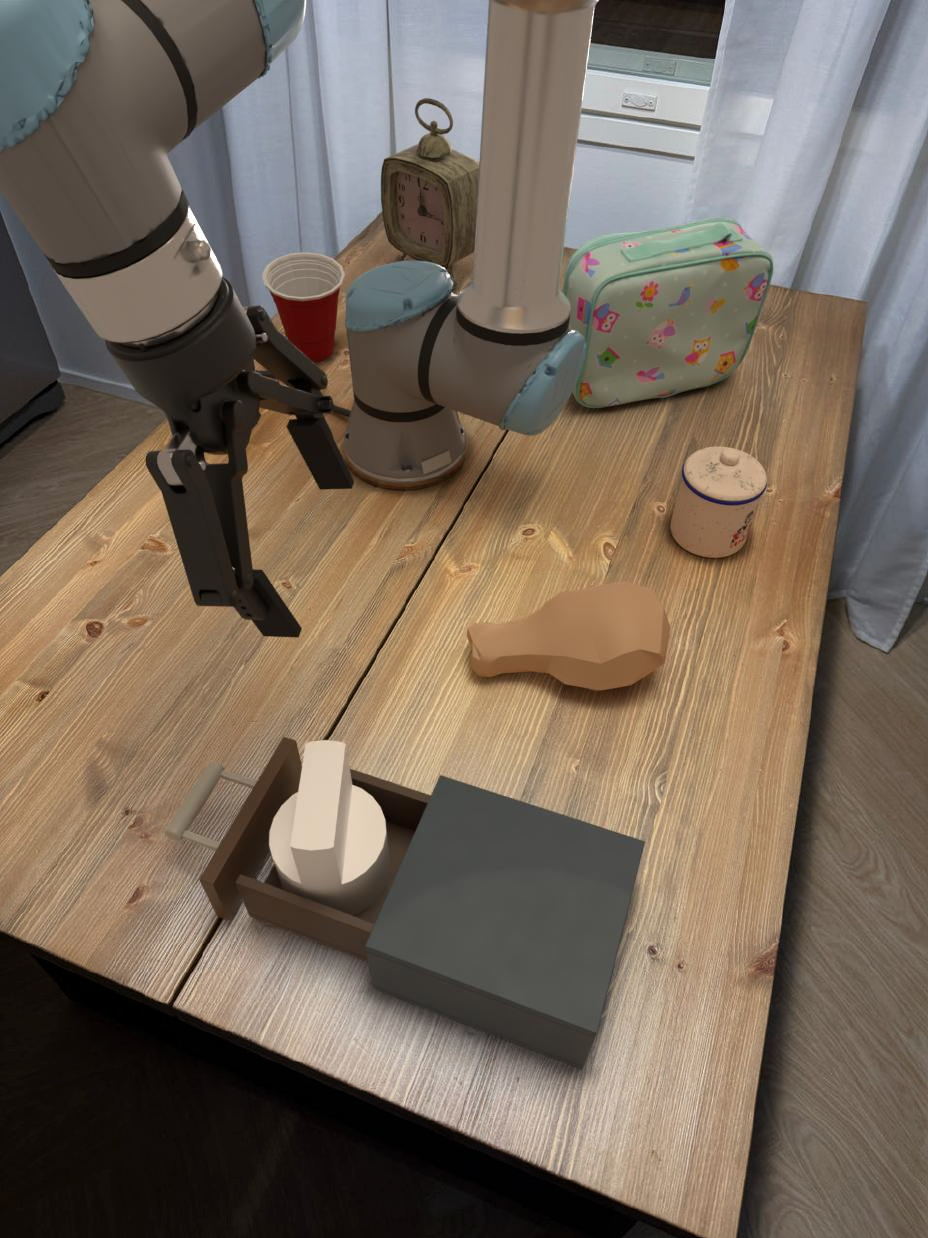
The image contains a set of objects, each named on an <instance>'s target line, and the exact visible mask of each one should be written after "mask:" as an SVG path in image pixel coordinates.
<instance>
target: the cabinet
mask: <svg viewBox="0 0 928 1238" xmlns="http://www.w3.org/2000/svg"><path fill="white" fill-rule="evenodd" d="M430 795H431V797H430V799H429V801H428V804H427V806H426V808H425V811H424V813H423V815H422V817H421V820H420V822H419V824H418V826H417V829H416V831H415V833H414V835H413V838H412V840H411V842H410V845H409V847H408V849H407V851H406V854H405V856H404V858H403V860H402V863H401V865H400V867H399V870H398V872H397V874H396V876H395V879H394V881H393V883H392V885H391V888H390V890H389V892H388V895H387V897H386V899H385V901H384V904H383V906H382V908H381V910H380V913H379V915H378V917H377V919H376V922H375V924H374V926H373V929H372V931H371V933H370V935H369V938H368V940H367V942H366V944H365V949H366V955H367V960H368V962H367V964H368V970H369V974H370V980H371V985H372V989H373V990H376V991H378V992H380V993H383V994H385V995H388V996H391V997H393V998H396V999H398V1000H400V1001H404V1002H406V1003H409V1004H412V1005H414V1006H417V1007H419V1008H422V1009H424V1010H427V1011H429V1012H431V1013H434V1014H438V1015H439V1016H443V1017H445V1018H448V1019H449V1020H452V1021H455V1022H458V1023H460V1024H463V1025H466V1026H469V1027H471V1028H473V1029H476V1030H478V1031H481V1032H484V1033H487V1034H489V1035H491V1036H494V1037H497V1038H499V1039H502V1040H505V1041H507V1042H510V1043H512V1044H515V1045H517V1046H519V1047H522V1048H525V1049H528V1050H530V1051H533V1052H536V1053H538V1054H539V1055H540V1054H541V1055H542V1056H546V1057H548V1058H551V1059H553V1060H556V1061H559V1062H561V1063H564V1064H567V1065H569V1066H572V1067H574V1068H577V1069H579V1070H583V1069H584V1067H585V1064H586V1062H587V1060H588V1057H589V1055H590V1052H591V1050H592V1048H593V1044H594V1042H595V1039H596V1037H597V1035H598V1032H599V1028H600V1024H601V1019H602V1016H603V1011H604V1007H605V1003H606V1000H607V996H608V991H609V988H610V984H611V980H612V975H613V973H614V968H615V965H616V960H617V956H618V951H619V948H620V945H621V944H620V943H621V941H622V936H623V932H624V928H625V924H626V920H627V916H628V912H629V909H630V904H631V900H632V896H633V893H634V888H635V884H636V880H637V875H638V872H639V869H640V864H641V861H642V856H643V853H644V848H645V844H646V840H642V839H639V838H636V837H634V836H630V835H628V834H627V835H626V834H624V833H621V832H617V831H614V830H611V829H608V828H605V827H602V826H600V825H599V826H598V825H596V824H593V823H591V822H587V821H584V820H580V819H577V818H574V817H571V816H569V815H565V814H562V813H559V812H555V811H554V810H550V809H547V808H543V807H540V806H537V805H535V804H531V803H529V802H525V801H522V800H519V799H517V798H516V799H515V798H513V797H510V796H507V795H504V794H500V793H497V792H495V791H491V790H488V789H484V788H482V787H479V786H476V785H473V784H469V783H466V782H463V781H460V780H458V779H454V778H451V777H448V776H445V775H442V774H440V775H439V776H438V779H437V781H436V783H435V786H434V788H433V790H432V792H431V794H430Z"/></svg>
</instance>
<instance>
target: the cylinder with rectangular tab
mask: <svg viewBox="0 0 928 1238" xmlns="http://www.w3.org/2000/svg"><path fill="white" fill-rule="evenodd" d="M303 751H304V752H303V759H302V771H301V778H300V784H299V791H298V792H297V793H295V794H294V795H292V796H291V797H290V798H289V799H288V800H287V801H286V802H285V803H284V804H283V805H282V806H281V807H280V809H279V811H278V812H277V814H276V815H275V817H274V819H273V822H272V825H271V829H270V835H269V846H270V850H269V851H270V854H271V856H272V857H271V858H272V860H273V863H274V864H275V866H276V869H277V872H278V875H279V878H280V881H281V884H282V887H283V890H285V891H288V892H291V893H293V894H296V895H299V896H301V897H304V898H307V899H310V900H312V901H315V902H318V903H320V904H323V905H326V906H328V907H331V908H334V909H337V910H339V911H342V912H345V913H347V914H350V915H356V914H359V913H360V912H362V911H363V910H365V909H366V908H368V907H369V906H370V905H372V904H373V902H374V901H375V900H376V899H377V898H378V897H379V896H380V895H381V893H382V891H383V889H384V887H385V885H386V883H387V881H388V876H389V872H390V856H389V847H388V839H387V830H386V822H385V818H384V815H383V812H382V810H381V807H380V806H379V804H378V803H377V802H376V801H375V799H374V798H373V797H372V796H371V795H370V794H368V793H367V792H366V791H364V790H363V789H362V788H359V787H357V786H354V785H352V779H351V773H350V769H351V768H350V762H349V756H348V751H347V744H346V743H345V742H343V741H338V740H337V741H336V740H335V741H334V740H328V739H323V740H313V741H308V742H305V745H304V750H303Z"/></svg>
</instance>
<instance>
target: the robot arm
mask: <svg viewBox="0 0 928 1238" xmlns="http://www.w3.org/2000/svg"><path fill="white" fill-rule="evenodd" d="M598 2H600V0H488V5H487V25H486V40H485V57H484V58H485V59H484V73H483V74H484V76H483V92H482V93H483V94H482V95H483V96H482V111H481V128H480V146H479V147H480V148H479V180H478V197H477V215H476V233H475V250H474V252H473V253H474V254H473V268H472V281H471V282H469V283H468V284H467V285H466V286H464V287H463V288H462V289H461V290H460V291H459V293H458V294H456V293H453V289H454V288H453V282H452V280H451V276H450V275H449V271H448V270H447V269H446V267H442V266H440V265H437V264H435V263H431V262H426V261H417V260H406V261H400V262H396V261H394V262H390V263H385V264H382V265H378V266H376V267H373V268H371V269H369V270H367V271H365V272H363V273H362V274H359V276H357V277H356V278H355V279H354V280H353V281H352V282H351V283H350V284H349V286H348V289H347V290H346V293H345V297H344V298H345V299H344V302H345V304H344V305H345V319H344V327H345V331H346V332H345V333H346V339H347V347H348V358H349V366H350V374H351V385H352V393H353V402H352V406H351V410H350V409H348V408H345V407H341V406H338V405H336V404H334V400H333V398H332V396H331V395H324V394H323V393H322V390H323V391H324V390H326V389H327V388H328V384H329V383H328V382H329V380H328V376H327V374H326V372H325V371H323V369H321V368H320V366H318V365H317V364H316V363H314V362H312V361H311V360H310V359H309V358H308V357H307V356H306V355H305V354H303V353H302V352H301V351H300V350H299V349H298V348H297V347H296V346H295V345H294V344H292V343H291V342H290V341H289V340H288V337H287V336H286V335H284V334H282V332H281V331H280V330H278V329H277V327H276V326H275V324H274V322H273V321H272V319H271V318H270V316H269V314H268V312H267V311H266V309H265V308H264V306H263V305H259V304H258V305H250V306H242V305H243V304H242V303H241V301H240V298H238V295H237V293H236V291H235V289H234V288H233V285H232V283H230V281H229V280H228V279H227V278H226V277H224V276H223V269H222V266H221V264H220V262H219V260H218V258H217V256H216V254H215V253H214V251H213V249H212V246H211V245H210V243H209V241H208V240H207V239H208V238H206V236H205V234H204V232H203V230H202V227H201V226H200V224H199V223H198V220H197V219H196V217H195V215H194V213H193V211H192V209H191V207H190V201H189V200H188V198H187V195H186V193H185V192H184V190H183V188H182V186H181V183H180V181H179V178H178V177H177V175H176V172H175V169H174V168H173V165H172V163H171V161H170V159H169V157H168V154H169V153H170V152H172V150H174V149H175V148H176V147H177V146H179V144H181V143H182V142H183V141H184V140H186V139H187V138H188V137H190V135H191V134H192V132H193V131H194V130H196V129H197V128H198V127H199V126H201V125H202V124H203V123H204V122H206V121H207V120H208V119H209V118H210V117H212V116H213V115H215V114H216V113H217V112H218V111H219V110H220V109H222V108H223V107H224V106H225V105H227V104H228V103H230V101H232V100H233V99H234V98H236V97H237V96H238V95H239V94H240V93H242V92H243V91H244V90H245V89H247V87H249V86H250V85H252V84H253V83H254V82H256V80H260V79H261V78H263V77H264V76H266V75H267V73H268V72H269V71H270V70H271V69H270V68H271V64H272V63H273V62H274V61H275V60H276V59H277V58H278V57H279V56H281V54H282V53H283V52H284V51H286V49H287V48H288V47H290V46H291V44H293V42H294V41H295V40H296V39H297V37H298V35H299V33H300V32H301V30H302V28H303V25H304V21H305V16H306V7H307V0H0V193H1V194H2V196H3V197H4V199H5V200H6V201H7V204H9V206H10V207H11V209H12V210H13V211H14V213H15V214H16V216H17V217H18V219H19V221H20V222H21V223H22V224H23V226H24V228H25V229H26V230H27V232H28V233H29V235H30V236H31V238H32V239H33V240H34V243H36V245H37V247H38V248H39V249H40V251H42V252H43V254H44V257H45V258H46V260H47V261H48V263H49V264H50V265H51V268H52V269H53V271H54V273H55V274H56V276H57V277H58V279H59V280H60V281H61V283H62V285H63V286H64V288H65V289H66V290H67V292H68V293H69V295H70V296H71V298H72V300H73V301H74V302H75V304H76V305H77V307H78V309H79V311H80V312H81V313H82V315H83V317H84V318H85V319H86V321H87V322H88V323H89V325H90V326H91V328H92V329H93V330H94V332H95V333H96V334H97V336H98V337H99V338H101V339H103V340H104V341H105V346H106V350H108V352H109V354H110V355H111V357H112V358H113V359H114V361H115V363H116V364H117V365H118V367H119V368H120V369H121V371H122V373H123V374H124V375H125V377H126V378H127V380H128V382H129V383H130V384H131V386H132V387H133V388H134V390H135V392H136V393H137V394H138V395H139V396H140V397H142V398H143V399H144V400H146V401H147V402H149V403H151V404H152V405H154V406H156V407H157V408H158V409H159V410H161V411H162V412H163V413H164V415H165V417H166V419H167V423H168V426H169V430H170V433H171V436H172V437H171V438H170V440H169V441H168V442H167V444H166V445H165V447H164V449H163V450H150V451H148V452H147V453H146V455H145V461H144V462H145V466H146V469H147V471H148V472H149V474H150V476H151V477H152V479H153V481H154V482H155V484H156V486H157V487H158V489H159V491H160V493H161V495H162V498H163V502H164V505H165V508H166V512H167V515H168V519H169V522H170V526H171V529H172V532H173V535H174V539H175V542H176V545H177V549H178V553H179V555H180V558H181V562H182V565H183V569H184V572H185V576H186V579H187V583H188V585H189V588H190V593H191V594H192V598H193V601H194V604H195V606H197V607H214V608H215V607H220V608H233V609H235V611H236V613H238V615H239V616H240V618H241V619H243V620H246V621H251V622H252V623H253V624H254V626H255V627H256V629H257V630H258V631H259V632H260V634H261V636H263V637H266V638H267V637H270V638H274V637H275V638H296V639H297V638H298V639H299V638H300V635H301V633H302V629H303V627H302V626H301V625H300V624H299V622H298V620H297V619H296V617H295V616H294V614H293V613H292V612H291V611H292V610H290V609H289V607H288V605H287V604H286V603H285V600H283V598H282V597H281V595H280V594H279V592H278V591H277V589H276V588H275V586H274V585H273V584H272V582H271V581H270V579H269V578H268V576H267V575H266V573H265V571H264V570H263V569H261V568H259V569H258V568H257V569H255V568H253V561H252V553H251V551H252V550H251V543H250V542H251V541H250V533H249V527H248V518H247V508H246V500H245V491H244V484H243V483H244V482H243V478H244V476H245V475H246V474H247V473H248V471H249V463H248V455H247V447H248V445H249V443H250V440H251V436H252V432H253V430H254V429H255V428H256V426H257V425H258V424H259V421H260V420H261V418H262V414H261V412H260V409H262V410H263V409H264V410H267V411H271V412H276V413H279V414H284V415H287V416H295V418H291V419H289V420H288V422H287V424H286V430H287V431H288V433H289V435H290V436H291V439H292V440H293V442H294V443H295V446H296V449H297V450H298V452H299V454H300V455H301V458H302V460H303V461H304V463H305V465H306V467H307V468H308V470H309V472H310V475H311V476H312V479H314V481H315V483H316V485H317V487H318V489H319V490H321V491H322V490H352V489H353V487H354V484H355V480H354V477H353V476H352V474H351V472H353V474H355V475H356V476H357V477H358V478H359V479H361V480H362V481H364V482H367V483H369V484H371V485H375V486H376V487H380V488H384V489H391V490H401V491H402V490H405V491H406V490H415V489H416V490H417V489H422V488H427V487H431V486H434V485H436V484H437V485H438V484H439V483H441V482H443V481H445V480H447V479H449V477H452V476H453V475H454V474H455V473H456V472H457V471H458V470H459V469H460V467H461V466H462V465H463V463H464V461H465V458H466V455H467V435H466V431H465V428H464V425H463V423H462V421H461V420H460V416H459V413H460V414H464V415H466V416H469V417H472V418H474V419H477V420H480V421H483V422H485V423H489V424H491V425H494V426H497V427H498V428H499V430H501V431H506V430H508V431H511V432H514V433H517V434H520V435H524V436H528V437H533V436H537V435H540V434H542V433H543V432H545V431H547V430H548V429H549V428H550V427H551V425H552V424H553V423H554V422H555V421H556V420H557V419H558V417H559V416H560V414H561V413H562V411H563V410H564V408H565V406H566V404H567V403H568V402H569V400H570V397H571V395H572V394H573V393H572V391H573V389H574V387H575V385H576V383H577V380H578V378H579V375H580V372H581V369H582V366H583V363H584V359H585V354H586V343H585V338H584V336H583V335H581V334H580V333H578V331H576V330H571V331H570V330H569V320H570V313H571V304H570V301H569V300H568V298H567V297H566V296H565V295H564V293H563V292H562V291H563V290H561V289H560V280H561V273H562V265H563V256H564V249H565V242H566V233H567V225H568V219H569V218H568V217H569V210H570V201H571V195H572V187H573V180H574V179H573V178H574V171H575V163H576V155H577V148H578V141H579V140H578V139H579V133H580V124H581V117H582V108H583V101H584V93H585V85H586V78H587V77H586V76H587V70H588V69H587V68H588V61H589V53H590V46H591V40H592V39H591V37H592V30H593V24H594V23H593V22H594V15H595V8H596V5H597V4H598ZM255 362H257V363H258V364H259V365H260V366H262V368H264V369H265V370H256V366H255ZM275 378H276V379H275ZM280 382H281V383H280ZM332 413H334V414H337V415H339V416H340V415H341V416H344V417H345V418H348V421H347V425H346V428H345V431H344V435H343V452H344V457H343V455H342V453H341V451H340V449H339V447H338V444H337V442H336V441H335V438H334V434H333V432H332V430H331V429H332V428H330V426H329V423H328V421H327V419H326V417H325V415H326V414H332ZM324 414H325V415H324ZM205 454H208V455H213V456H227V458H228V461H227V462H223V463H221V462H219V463H209V462H207V461H206V458H205V457H206V456H205ZM344 458H345V459H344ZM350 470H351V471H350Z"/></svg>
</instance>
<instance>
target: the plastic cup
mask: <svg viewBox="0 0 928 1238" xmlns="http://www.w3.org/2000/svg"><path fill="white" fill-rule="evenodd" d="M345 277H346V274H345V270H344V268H343V266H342V264H340V263H339V262H338V261H337V260H336V259H334V258H332V257H330V256H327V255H324V254H322V253H318V252H317V253H316V252H307V251H303V252H293V253H288V254H287V253H286V254H285V255H282V256H280V257H277V258H274V259H273V260H272V261H271V262H269V263H268V264H267V265H265V267H264V270H263V272H262V274H261V278H262V280H263V281H262V282H263V284H264V287H265V288H266V289H267V290H268V292H269V293H270V296H271V298H272V300H273V302H274V304H275V307H276V310H277V313H278V315H279V318H280V321H281V325H282V327H283V330H284V333H285V337H286V338H287V339H288V340H289V341H290V342H291V343H292V344H294V345H295V346H296V347H297V348H298V349H299V350H300V351H301V352H302V353H303V354H305V355H306V356H307V357H308V358H309V359H310V360H311V361H312V362H313V363H314V362H321V361H323V360H326V359H328V358H329V357H331V356H332V355H333V352H334V347H335V342H336V341H335V338H336V330H337V321H338V320H337V319H338V308H339V297H340V291H341V287H342V285H343V282H344V279H345Z"/></svg>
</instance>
